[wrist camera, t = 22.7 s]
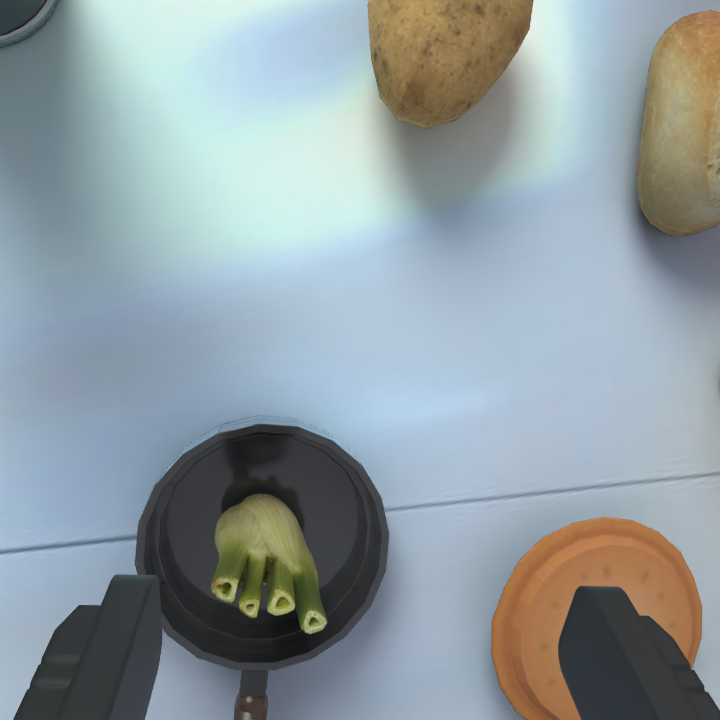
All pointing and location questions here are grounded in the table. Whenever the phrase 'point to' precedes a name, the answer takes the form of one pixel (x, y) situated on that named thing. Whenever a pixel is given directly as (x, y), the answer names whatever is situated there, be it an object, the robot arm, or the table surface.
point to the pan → (313, 512)
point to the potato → (442, 53)
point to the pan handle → (252, 696)
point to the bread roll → (682, 129)
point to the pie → (556, 591)
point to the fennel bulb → (267, 562)
